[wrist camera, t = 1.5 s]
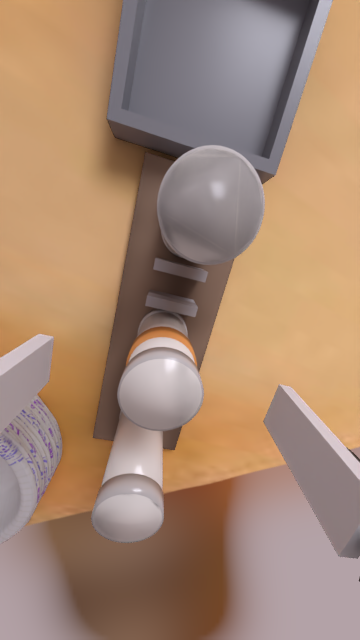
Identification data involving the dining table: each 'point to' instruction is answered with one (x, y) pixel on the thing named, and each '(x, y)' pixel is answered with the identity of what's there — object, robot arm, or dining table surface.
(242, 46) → the tray
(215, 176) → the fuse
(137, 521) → the cylinder
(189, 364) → the cylinder
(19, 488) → the white purple floral bowl
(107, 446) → the dining table surface
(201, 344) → the clip rail
